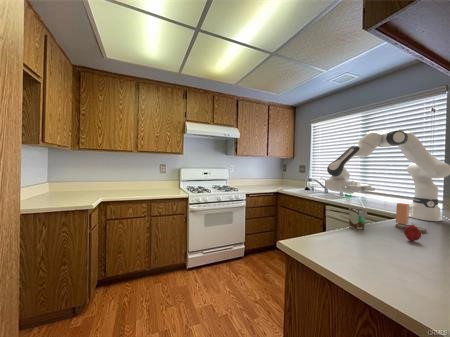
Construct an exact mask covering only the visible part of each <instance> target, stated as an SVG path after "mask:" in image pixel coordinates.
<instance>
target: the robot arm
mask: <svg viewBox="0 0 450 337" xmlns="http://www.w3.org/2000/svg"><path fill="white" fill-rule="evenodd" d="M395 146H397V147H398V148H399V150H400V151H401V152H402V154H403V155H404V156H405V158H406V159H407V160H408V161H409V162H411V163H410V164H409V165H408V166H407V168H406V170H407V173H408V174H409V176H411V178H412V181H413V183H414V197H413V199H412V202H411V203H409V218H411V219H412V218H413V219H418V220H422V221H429V222H440V221H441V222H442V221H444V219H443V218H441V214H442V213H441V207H440V206H439V202H440V201H439V196H438V195H439V188H438V186H437V185H436V184H435V183H434V182H433V179H443V178H447V177H448V176H450V164H449V163H446V162H444V161H441V159H438V158H437V157H435V156H434V155H433V154H431V153H430V151H428V149H426V147H425V145H423V143H422V142H421V140H420V139H419V138H418V137H417V136H416V135H415V134H414V133H413V132H411V131H409V130H408V131H403V130H400V129H391V130H385V131H382V132H377V131H374V130H373V131H369V132H366V134H365V135H364V136H363V137H361V139H359V141H358V142H356V144H354V145H352V146H350V147H349V148H347V149H346V150H345V151H344V152H342V154H341V155H340V156H338V158H336V159H335V160H334V161H331V163H329V164H328V166H327V168H326V170H327V173H328V174H329V175H330V177H329V178H328V179H325V182H324V185H325V187H326V189H327V190H328V191H331V192H337V193H339V192H340V193H341V192H342V193H345V194H354V193H359V192H368V191H371V192H375V190H376V188H375V187H372V185H370V184H366V183H360V182H358V181H355V180H349V179H350V176H351V175H350V173H349V171H348V170H347V169H346V168H345V165H346V164H347V163H348V162H350V160H351V159H352V158H354V157H357V158H359V157H360V158H365V157H369V156H370V155H371V154H372V153H373V152H374V151H375V150H376V149H377V147H380V148H383V147H384V148H385V147H386V148H387V147H388V148H389V147H395Z"/></svg>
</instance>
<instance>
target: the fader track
mask: <svg viewBox="0 0 450 337" xmlns="http://www.w3.org/2000/svg"><path fill="white" fill-rule="evenodd" d="M394 226H395V228H396V229H402V230H405V228H407V227H408V226H411V224H409V223H408V224H406V225H401V224H399V223H396V224H395V225H394ZM414 226H415V227H417V228H418V229H419V230H420V232H421V234H426V233H427V232H428V229H427V228H426V227H421V226H417V225H414Z"/></svg>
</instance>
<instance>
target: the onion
mask: <svg viewBox="0 0 450 337" xmlns="http://www.w3.org/2000/svg"><path fill="white" fill-rule="evenodd" d="M410 225H411V226H408V227H407V228H405V229H403V234H404V235H405V237H406V238H407V239H408V240H409V241H411V242H415V241H418V240H420V239H421V237H422V233H421V232H420V230H419V229H418V228H417V227H418V226H417V227H415V226H416V225H415V224H414V223H411V224H410Z"/></svg>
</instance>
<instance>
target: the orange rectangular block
mask: <svg viewBox="0 0 450 337" xmlns="http://www.w3.org/2000/svg"><path fill="white" fill-rule="evenodd" d="M409 205H410V203H405V202H397V203H396V213H395V223H396V224H398V223H399V224H401V225H406V224H408V225H409V219H410V217H409Z"/></svg>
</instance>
